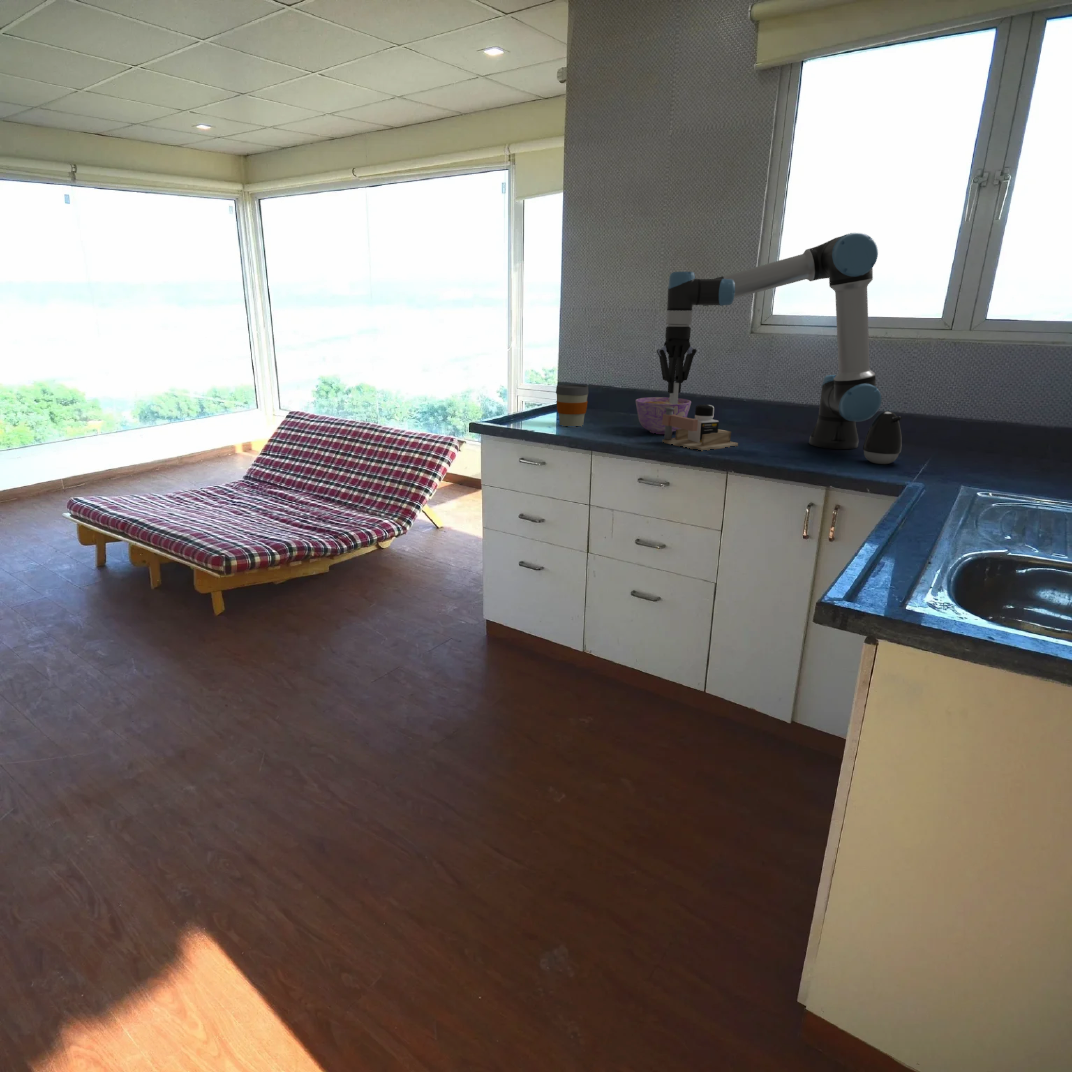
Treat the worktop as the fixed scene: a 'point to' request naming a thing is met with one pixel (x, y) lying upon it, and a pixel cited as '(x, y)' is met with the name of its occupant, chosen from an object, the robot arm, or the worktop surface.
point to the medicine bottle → (703, 423)
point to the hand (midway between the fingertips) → (673, 403)
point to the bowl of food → (659, 412)
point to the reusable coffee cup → (571, 404)
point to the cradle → (708, 440)
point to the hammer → (677, 423)
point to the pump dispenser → (883, 439)
